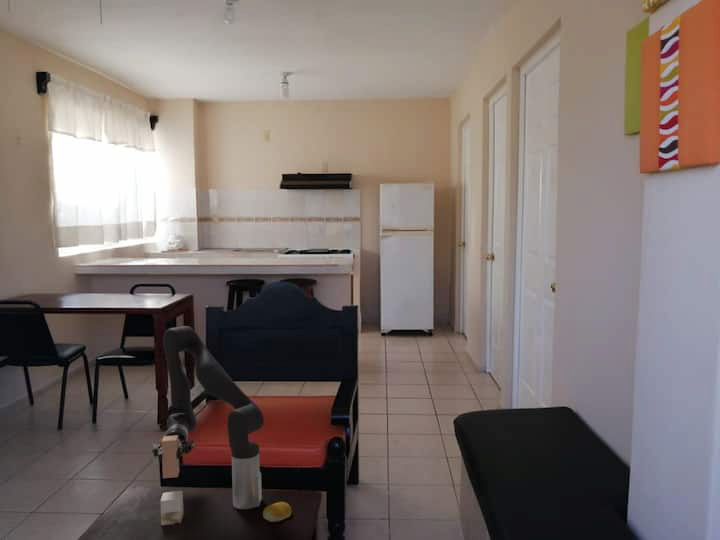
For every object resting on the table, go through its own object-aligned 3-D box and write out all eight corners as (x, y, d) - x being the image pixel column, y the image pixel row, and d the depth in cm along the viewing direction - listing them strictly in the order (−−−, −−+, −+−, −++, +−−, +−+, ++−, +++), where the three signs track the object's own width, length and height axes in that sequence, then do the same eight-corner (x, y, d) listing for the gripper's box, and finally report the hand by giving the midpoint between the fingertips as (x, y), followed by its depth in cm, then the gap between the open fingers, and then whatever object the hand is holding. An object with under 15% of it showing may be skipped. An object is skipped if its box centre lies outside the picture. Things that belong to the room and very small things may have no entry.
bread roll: (296, 514, 184) (296, 502, 184) (274, 525, 178) (274, 512, 178) (280, 506, 190) (279, 495, 190) (258, 516, 183) (258, 504, 183)
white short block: (182, 502, 186) (182, 490, 185) (180, 511, 180) (180, 498, 179) (163, 504, 184) (163, 492, 184) (161, 513, 178) (160, 500, 178)
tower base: (183, 514, 186) (183, 502, 185) (181, 523, 180) (180, 511, 180) (164, 516, 185) (164, 504, 184) (161, 525, 179) (160, 513, 178)
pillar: (179, 471, 184) (178, 435, 183) (177, 477, 180) (176, 440, 179) (164, 472, 183) (163, 436, 182) (162, 478, 179) (161, 441, 178)
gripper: (153, 429, 193) (145, 447, 177) (197, 425, 196) (192, 443, 179) (154, 450, 194) (145, 470, 177) (197, 446, 196) (193, 466, 180)
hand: (169, 456), depth 178 cm, fingers closed on pillar, 4 cm apart
